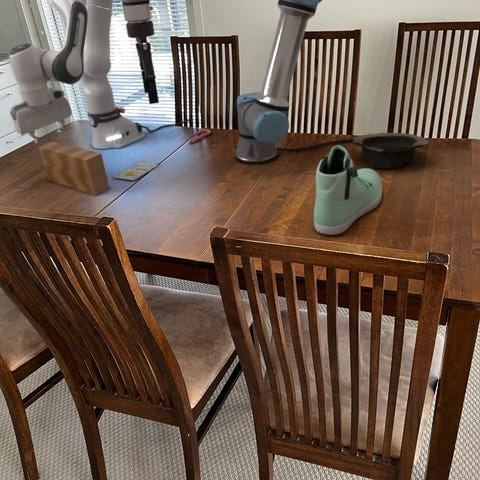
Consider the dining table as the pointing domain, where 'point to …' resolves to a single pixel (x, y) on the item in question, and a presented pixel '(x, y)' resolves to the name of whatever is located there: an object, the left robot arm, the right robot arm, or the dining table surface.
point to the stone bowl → (389, 148)
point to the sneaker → (343, 192)
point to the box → (74, 167)
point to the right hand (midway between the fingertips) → (151, 97)
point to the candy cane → (200, 135)
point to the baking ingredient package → (136, 171)
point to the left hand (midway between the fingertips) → (50, 137)
